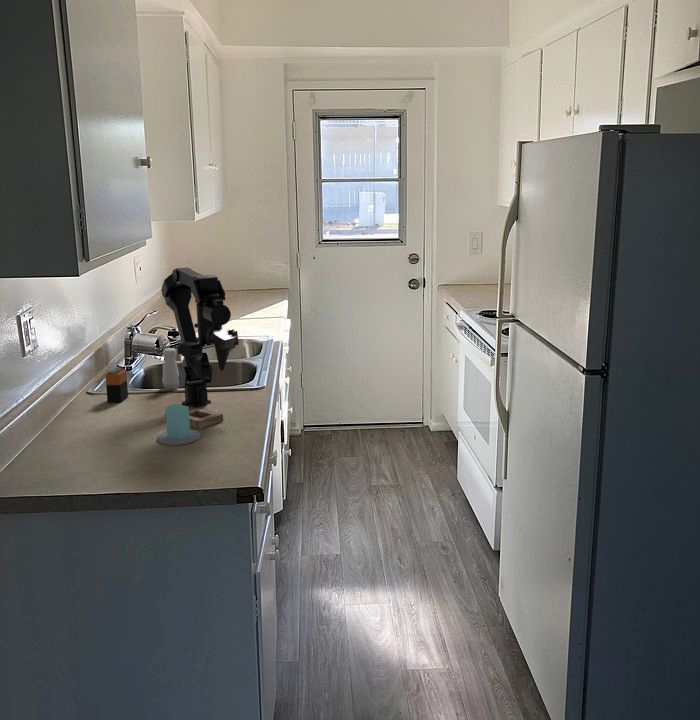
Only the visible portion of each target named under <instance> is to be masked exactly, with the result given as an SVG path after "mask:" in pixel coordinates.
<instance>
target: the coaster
mask: <svg viewBox="0 0 700 720" xmlns="http://www.w3.org/2000/svg"><path fill="white" fill-rule="evenodd" d="M199 438H200V439H201V433H200V432H199V431H197V430H194V429H190V436H189V437H186V438H184V439H181V440H179V439H176V438H172V437H169V436H167V431H165V432H161V433H160V434H159V435H158V436H157V437H156V441H157V442H158V443H159V444H161V445H165V446H183V444H185V445H189V444H188V443H190V444H192V443H191V442H193V443H195V442H197V441H198V439H199ZM200 439H199V440H200ZM196 440H197V441H196ZM194 441H195V442H194Z"/></svg>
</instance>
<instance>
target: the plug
mask: <svg viewBox="0 0 700 720" xmlns="http://www.w3.org/2000/svg"><path fill="white" fill-rule="evenodd" d="M189 411H190V408H189V406H188V405H184V404H178V403H174V404H170V405H167V406H165V423H166V432H167V436H169V437H172V438H176V439H179V440H181V439H184V438H186V437H189V436H190V430H191V426H190V421H189Z"/></svg>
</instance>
